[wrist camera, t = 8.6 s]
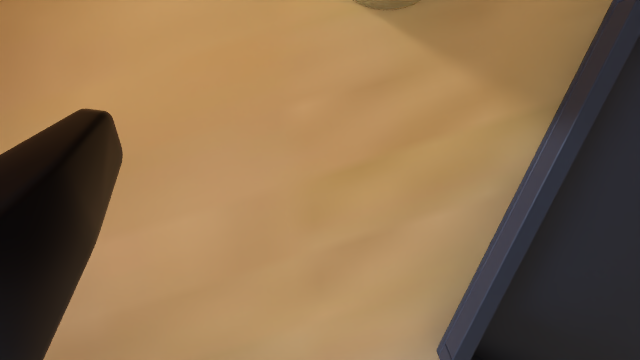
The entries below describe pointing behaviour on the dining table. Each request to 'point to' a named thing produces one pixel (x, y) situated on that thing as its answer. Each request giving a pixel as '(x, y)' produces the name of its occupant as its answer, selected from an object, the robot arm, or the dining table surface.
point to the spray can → (386, 4)
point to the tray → (569, 226)
